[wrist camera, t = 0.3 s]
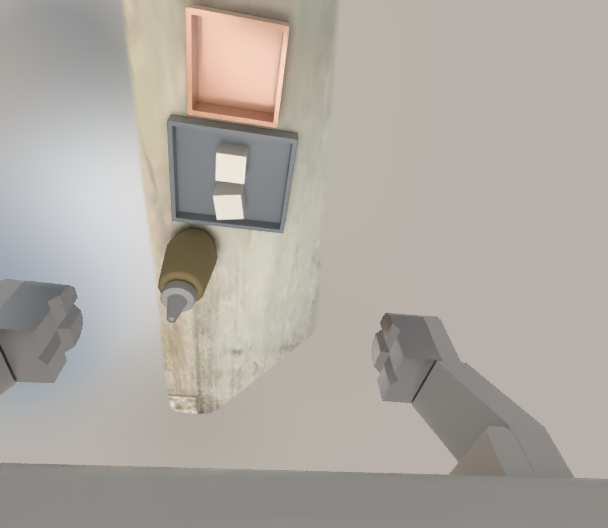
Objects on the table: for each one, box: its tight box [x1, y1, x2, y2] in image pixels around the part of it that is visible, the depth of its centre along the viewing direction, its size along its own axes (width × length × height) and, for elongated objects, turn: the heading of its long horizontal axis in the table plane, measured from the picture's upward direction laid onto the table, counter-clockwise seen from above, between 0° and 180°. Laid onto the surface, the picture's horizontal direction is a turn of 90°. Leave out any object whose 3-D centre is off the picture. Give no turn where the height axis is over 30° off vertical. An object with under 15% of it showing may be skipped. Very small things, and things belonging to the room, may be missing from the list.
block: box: [213, 183, 246, 220], centre depth 57 cm, size 4×4×4 cm
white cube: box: [215, 142, 248, 184], centre depth 53 cm, size 4×4×4 cm
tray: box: [167, 115, 298, 233], centre depth 56 cm, size 15×17×3 cm
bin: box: [185, 4, 290, 128], centre depth 46 cm, size 11×11×5 cm
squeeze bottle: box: [158, 228, 217, 322], centre depth 57 cm, size 8×8×18 cm
